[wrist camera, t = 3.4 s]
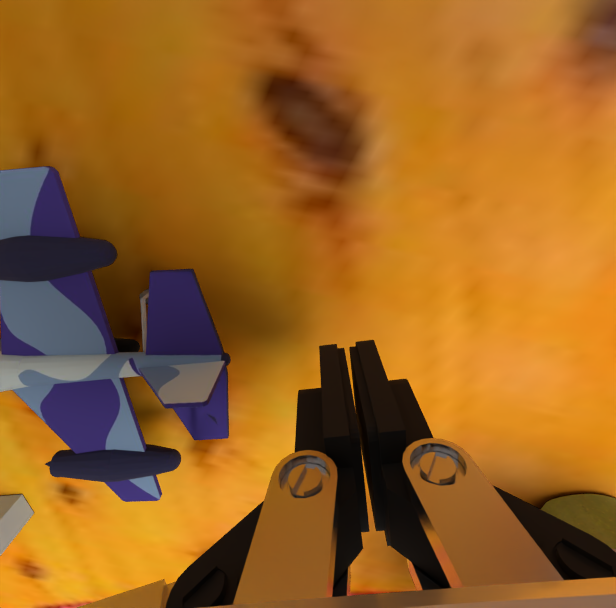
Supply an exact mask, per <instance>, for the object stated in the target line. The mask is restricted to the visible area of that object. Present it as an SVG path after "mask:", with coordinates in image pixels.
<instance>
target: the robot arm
mask: <svg viewBox="0 0 616 608" xmlns="http://www.w3.org/2000/svg"><path fill="white" fill-rule="evenodd" d="M319 349H320V370H321V388H315V389H305V390H299V391H298V403H297V421H296V439H295V453H292V454H290V455H288V456H287V457H285V458H284V459H282V460H281V461H280V462H279V464H278V465H277V466H276V467H275V469H274V471H273V473H272V476H271V480H270V483H269V486H268V490H267V493H266V496H265V499H264V501H263V502H262V503H261V504H260V505H258V506H257V507H256V508H255V509H254V510H253V511H252V512H250V513H249V514H248V515H247V516H246V517H245V518H244V519H243V520H241V521H240V522H239V523H238V524H237V525H236V526H235V527H233V528H232V529H231V530H230V531H229V532H228V533H227V534H225V535H224V536H223V537H222V538H221V539H220V540H219V541H217V542H216V543H215V544H214V545H213V546H212V547H211V548H209V549H208V550H207V551H206V552H205V553H204V554H203V555H202V556H200V557H199V558H198V559H197V560H196V561H195V562H194V563H192V564H191V565H190V566H189V567H188V568H187V569H186V570H185V571H184V572H183V573H182V574H181V576H180V577H179V578H178V579H177V581H176V582H173V583H170V584H166V582H165V580H164V579H163V580H160V581H157V582H154V583H151V584H148V585H145V586H142V587H139V588H136V589H133V590H129V591H126V592H123V593H120V594H117V595H114V596H111V597H108V598H105V599H102V600H99V601H96V602H93V603H90V604H86V605H83V606H80V607H77V608H616V549H611V548H610V547H609V546H608V545H607V544H605V543H603V542H602V541H600V540H599V539H597V538H595V537H594V536H592V535H590V534H588V533H586V532H584V531H582V530H580V529H578V528H576V527H574V526H572V525H570V524H568V523H566V522H564V521H562V520H561V519H559V518H557V517H555V516H553V515H551V514H549V513H547V512H545V511H543V510H541V509H539V508H537V507H535V506H533V505H531V504H529V503H527V502H525V501H523V500H521V499H519V498H517V497H515V496H513V495H511V494H509V493H507V492H505V491H503V490H501V489H499V488H497V487H495V486H493V485H492V484H491V483H490V482H489V480H488V479H487V478H486V477H485V475H484V474H483V473H482V471H481V470H480V469H479V467H478V466H477V465H476V463H475V462H474V461H473V459H472V458H471V457H470V455H469V454H468V453H467V452H466V451H465V450H464V449H463V448H461V447H459V446H458V445H456V444H454V443H452V442H449V441H446V440H443V439H436V438H433V436H432V434H431V431H430V429H429V427H428V425H427V422H426V420H425V418H424V416H423V413H422V411H421V409H420V407H419V404H418V402H417V400H416V398H415V395H414V393H413V391H412V389H411V387H410V384H409V382H408V380H407V379H399V380H390V381H388V379H387V376H386V373H385V370H384V368H383V365H382V362H381V359H380V356H379V354H378V351H377V348H376V345H375V342H374V340H368V341H359V342H356V347H350V359H351V369H352V379H353V389H354V399H355V406H354V400H353V395H352V389H351V384H350V378H349V372H348V367H347V361H346V356H345V350H344V348H338V349H337V344H332V345H323V346H319ZM355 408H356V411H355ZM361 449H362V452H361ZM362 455H363V460H364V466H365V471H366V477H367V483H368V488H369V494H370V500H371V505H372V511H373V516H374V522H375V528H376V531H383V530H384V531H385V536H386V541H387V546H391V547H393V548H394V549H395V550H396V551H398V552H399V553H400V554H402V555H403V556H404V557H406V558H407V564H408V568H409V572H410V574H411V577H412V580H413V582H414V585H415V587H416V590H417V591H407V592H393V593H380V594H367V595H353V596H350V582H351V572H350V564H351V563H352V562H353V561H354V559H355V558H356V557H357V555H358V554H359V553H360V552H361V550H362V549H363V545H362V536H361V532H369V524H368V513H367V503H366V493H365V483H364V473H363V463H362Z"/></svg>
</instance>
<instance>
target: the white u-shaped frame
mask: <svg viewBox="0 0 616 608" xmlns="http://www.w3.org/2000/svg"><path fill="white" fill-rule="evenodd" d="M33 514H34V512H33V511H32V509H31V507H30V506H29V504H28V503H27V501H26V500H25V498H24V496H23V495H22V494H21V495H7V496H0V556H1V554H2V553H3V552H4V551H5V549H6V548H7V547H8V546H9V544H10V543H11V542H12V541H13V539H14V538H15V537H16V535H17V534H18V533H19V532H20V530H21V529H22V528H23V527H24V525H25V524H26V523H27V521H28V520H29V519H30V518H31V516H32V515H33Z"/></svg>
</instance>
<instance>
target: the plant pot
mask: <svg viewBox="0 0 616 608" xmlns="http://www.w3.org/2000/svg"><path fill="white" fill-rule="evenodd" d="M541 510H543V511H545V512H547V513H549V514H551V515H553V516H555V517H557V518H559V519H561V520H562V521H564V522H566V523H568V524H570V525H572V526H574V527H576V528H578V529H580V530H582V531H584V532H586V533H588V534H590V535H592V536H594V537H595V538H597V539H599V540H600V541H602V542H603V543H605V544H607V545H608V546H609V547H610V548H611V549H616V498H613V497H609V496H605V495H599V494H576V495H569V496H563V497H559V498H555V499H552V500H549V501H547V502H546V503H545V504H544V506H543V507H542V508H541Z"/></svg>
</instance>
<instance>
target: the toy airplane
mask: <svg viewBox="0 0 616 608" xmlns="http://www.w3.org/2000/svg"><path fill="white" fill-rule="evenodd" d="M116 258H117V251H116V249H115V247H114V246H113V245H112V244H111V243H110V242H108V241H106V240H99V239H92V238H84V237H80V235H79V232H78V229H77V226H76V223H75V221H74V218H73V215H72V212H71V209H70V206H69V203H68V200H67V197H66V194H65V191H64V188H63V185H62V182H61V179H60V176H59V173H58V171H57V170H56V169H55V168H53V167H50V166H45V167H34V168H23V169H12V170H0V317H1V339H0V392H2V391H7V390H13V391H14V392H15V393H16V394H17V395H18V396H19V397H20V398H21V399H22V400H23V401H24V402H25V403H26V404H27V405H28V406H29V407H30V408H31V409H32V410H33V411H34V412H35V413H36V414H37V415H38V416H39V417H40V418H41V419H42V420H43V421H44V422H45V423H46V424H47V425H48V426H49V427H50V428H51V429H52V430H53V431H54V432H55V433H56V434H57V435H58V436H59V437H60V438H61V439H62V440H63V441H64V442H65V443H66V444H67V445H68V446H69V447H70V448H71V449H70V450H61V451H58V452H57V453H56V454H55V455H54V456H53V458H52V460H51V461H50V462H48V463H46V465H48V466H50V473H51V475H52V476H54V477H67V478H75V479H83V480H91V481H100V482H105V483H106V484H107V485H108V486H109V487H110V488H111V489H112V490H113V491H114V492H115V493H116V494H117V495H118V496H119V497H120V498H121V499H122V500H123V501H125V502H130V501H157V500H159V499H160V497H161V495H162V492H161V489H160V486H159V483H158V480H157V477H156V475H157V474H161V473H165V472H169V471H173V470H175V469H176V468H177V467H178V466H179V464H180V462H181V455H180V453H179V452H178V451H177V450H175V449H171V448H166V447H161V446H155V445H148V444H145V441H144V438H143V435H142V432H141V429H140V426H139V423H138V420H137V417H136V414H135V411H134V408H133V405H132V402H131V399H130V397H129V394H128V391H127V388H126V385H125V382H124V379H123V377H134V376H143V377H144V379H145V380H146V382H147V383H148V385H149V386H150V387H151V389H152V390H153V392H154V393H155V395H156V396H157V397H158V399H159V400H160V402H161V403H162V404H163V406H164V407H165V408H173V409H174V410H175V412H176V413H177V415H178V416H179V418H180V419H181V421H182V422H183V424H184V425H185V427H186V428H187V430H188V431H189V433H190V434H191V436H192V437H193V439H194V440H206V439H224V438H228V436H229V416H228V372H227V367H226V366H227V365H228V364H229V363H230V360H231V359H230V356H229V354H227V353H225V352H224V351H223V347H222V344H221V341H220V339H219V336H218V333H217V331H216V328H215V326H214V323H213V320H212V318H211V315H210V312H209V310H208V307H207V304H206V302H205V299H204V296H203V294H202V291H201V289H200V286H199V283H198V281H197V278H196V275H195V273H194V270H193V269H177V270H156V271H151V272H150V280H149V289H147V290H145V291H143V292H142V293H141V294H140V301H141V321H142V340H143V352H138V351H139V350H140V345H139V343H138V342H137V341H136V340H131V339H119V338H114V337H113V334H112V331H111V328H110V325H109V322H108V319H107V316H106V313H105V310H104V307H103V304H102V301H101V298H100V295H99V292H98V289H97V286H96V283H95V280H94V277H93V274H92V271H91V270H95V269H98V268H102V267H105V266H109V265H111V264H112V263H113V262H114V261H115V259H116ZM146 304H148V319H147V321H146Z"/></svg>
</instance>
